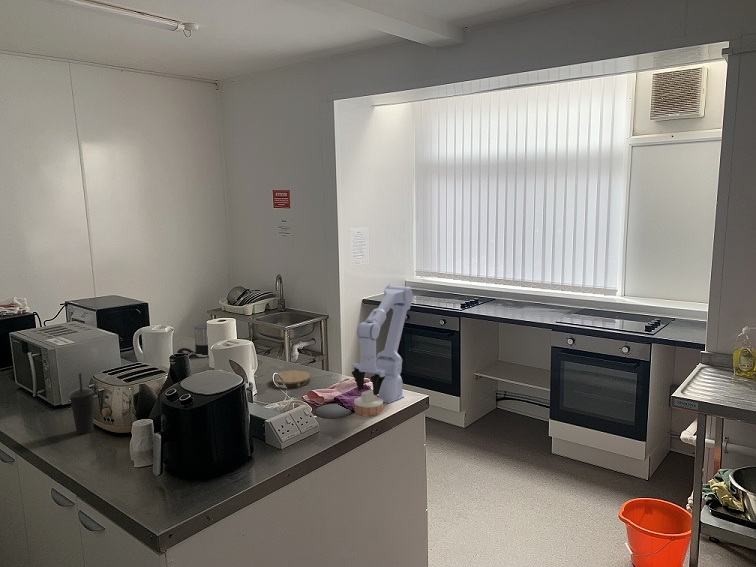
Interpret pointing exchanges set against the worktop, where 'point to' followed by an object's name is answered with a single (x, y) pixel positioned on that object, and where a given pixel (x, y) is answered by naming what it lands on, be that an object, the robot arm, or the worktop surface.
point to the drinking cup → (82, 408)
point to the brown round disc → (293, 379)
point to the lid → (368, 400)
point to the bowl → (368, 410)
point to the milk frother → (199, 340)
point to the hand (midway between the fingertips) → (368, 391)
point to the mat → (332, 411)
